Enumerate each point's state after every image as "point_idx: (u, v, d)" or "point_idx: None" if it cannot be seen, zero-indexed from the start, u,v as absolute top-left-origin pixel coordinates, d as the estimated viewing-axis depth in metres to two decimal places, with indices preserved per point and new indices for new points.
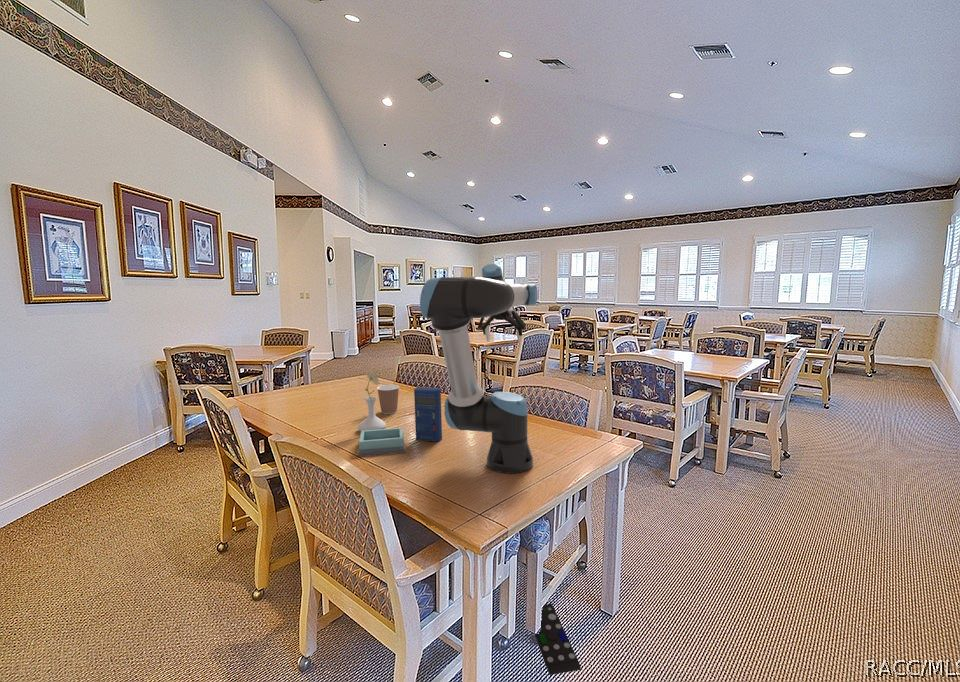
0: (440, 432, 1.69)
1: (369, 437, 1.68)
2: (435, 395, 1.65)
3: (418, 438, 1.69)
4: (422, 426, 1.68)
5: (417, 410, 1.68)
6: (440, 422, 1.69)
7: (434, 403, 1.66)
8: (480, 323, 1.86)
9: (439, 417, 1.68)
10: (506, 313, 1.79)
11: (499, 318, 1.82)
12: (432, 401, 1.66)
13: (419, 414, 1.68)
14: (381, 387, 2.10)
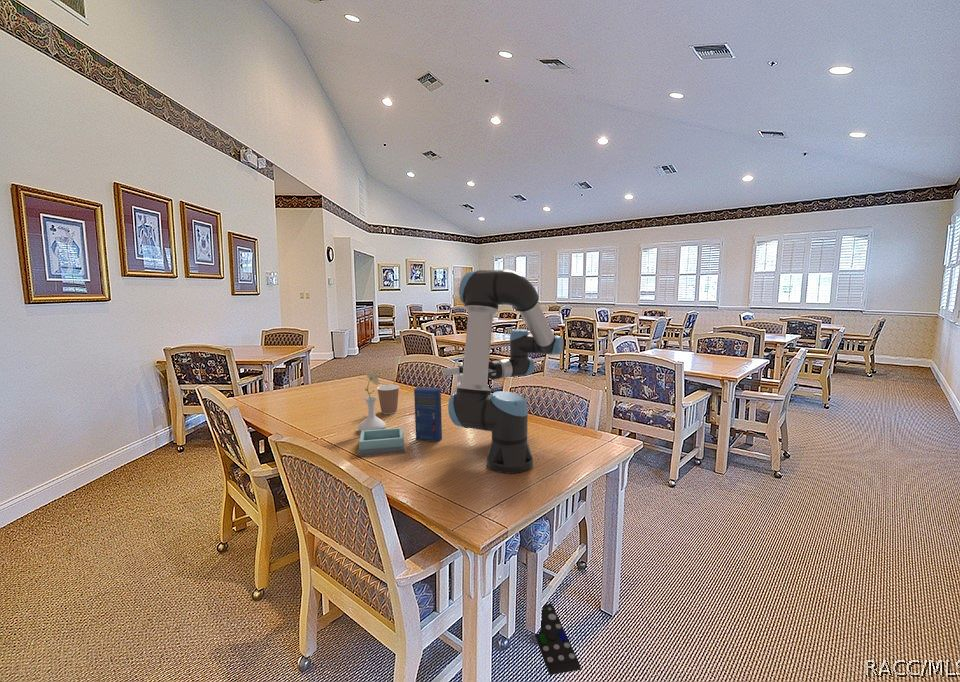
0: (440, 432, 1.69)
1: (369, 437, 1.68)
2: (435, 395, 1.65)
3: (418, 438, 1.69)
4: (422, 426, 1.68)
5: (417, 410, 1.68)
6: (440, 422, 1.69)
7: (434, 403, 1.66)
8: None
9: (439, 417, 1.68)
10: (489, 369, 1.76)
11: None
12: (432, 401, 1.66)
13: (419, 414, 1.68)
14: (381, 387, 2.10)
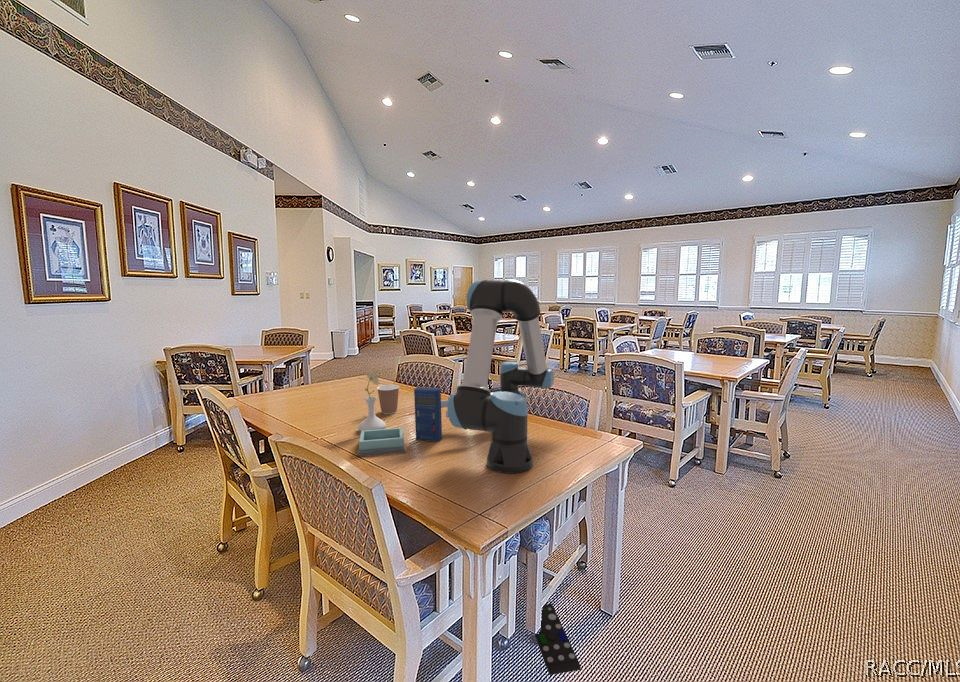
0: (440, 432, 1.69)
1: (369, 437, 1.68)
2: (435, 395, 1.65)
3: (418, 438, 1.69)
4: (422, 426, 1.68)
5: (417, 410, 1.68)
6: (440, 422, 1.69)
7: (434, 403, 1.66)
8: None
9: (439, 417, 1.68)
10: None
11: None
12: (432, 401, 1.66)
13: (419, 414, 1.68)
14: (381, 387, 2.10)
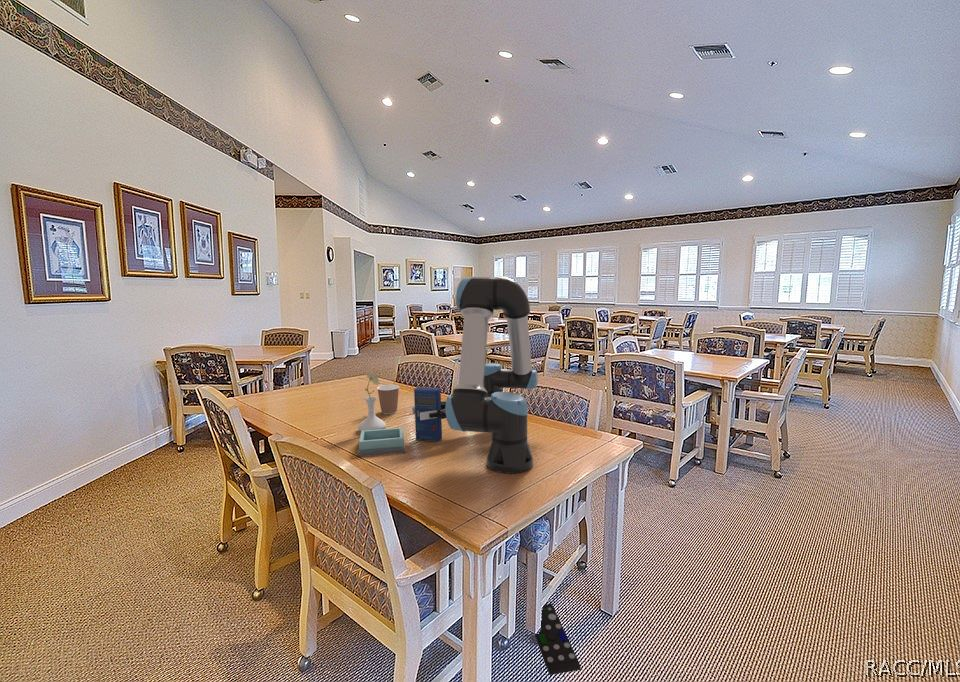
0: (440, 432, 1.69)
1: (369, 437, 1.68)
2: (435, 395, 1.65)
3: (418, 438, 1.69)
4: (422, 426, 1.68)
5: (417, 410, 1.68)
6: (440, 422, 1.69)
7: (434, 403, 1.66)
8: None
9: None
10: None
11: None
12: (432, 401, 1.66)
13: (419, 414, 1.68)
14: (381, 387, 2.10)
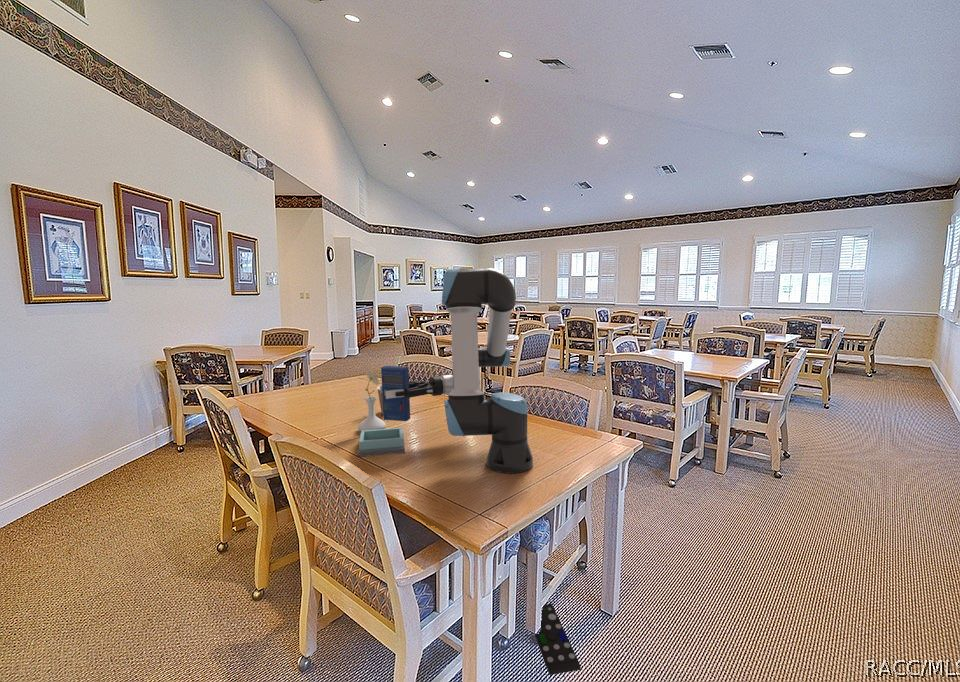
0: (408, 412, 1.66)
1: (369, 437, 1.68)
2: (402, 373, 1.61)
3: (385, 418, 1.66)
4: (390, 406, 1.65)
5: (384, 389, 1.64)
6: (407, 401, 1.65)
7: (401, 382, 1.62)
8: None
9: None
10: (429, 386, 1.68)
11: (420, 385, 1.69)
12: (399, 379, 1.62)
13: None
14: None
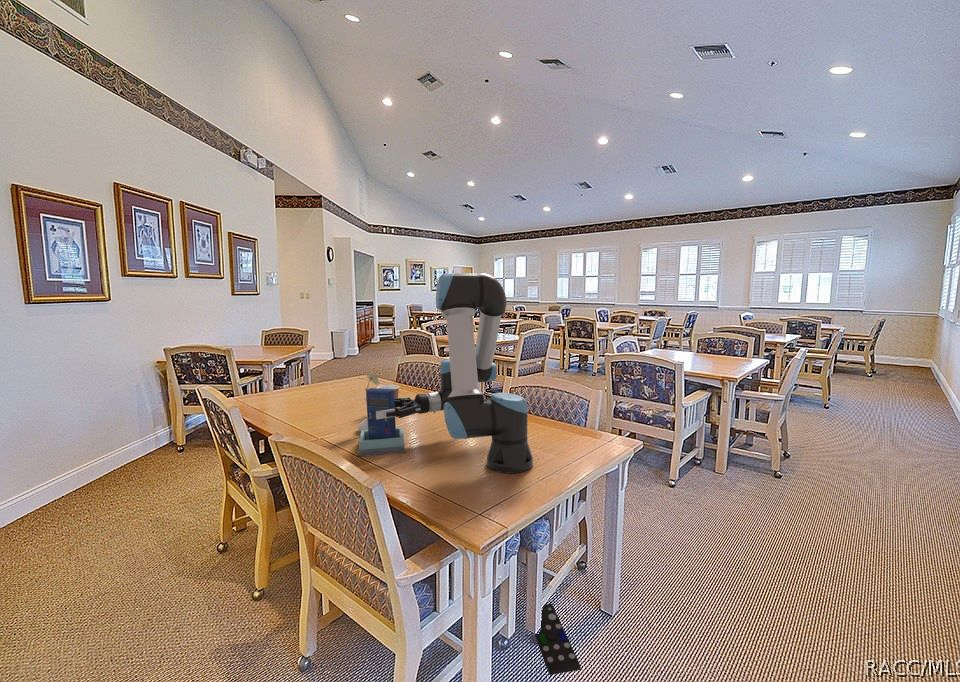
0: (394, 435, 1.63)
1: None
2: (387, 396, 1.58)
3: None
4: (375, 429, 1.61)
5: (369, 412, 1.61)
6: (393, 424, 1.62)
7: (387, 405, 1.59)
8: None
9: (392, 419, 1.61)
10: (415, 404, 1.65)
11: (405, 403, 1.67)
12: (385, 402, 1.59)
13: (371, 416, 1.61)
14: (381, 387, 2.10)
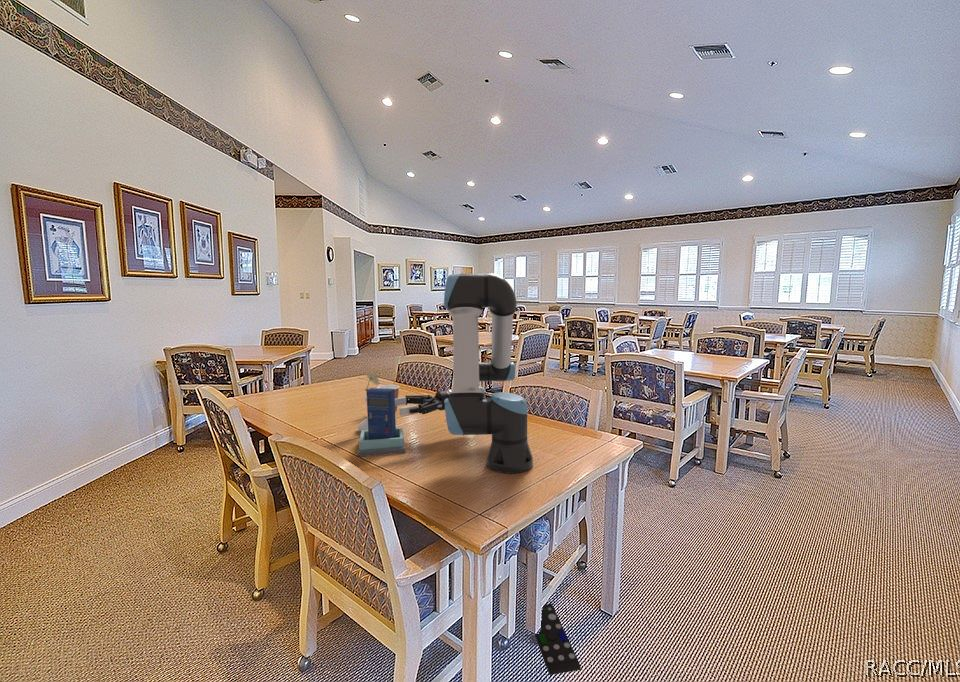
0: (394, 435, 1.63)
1: None
2: (388, 396, 1.59)
3: None
4: (375, 429, 1.61)
5: (369, 412, 1.61)
6: (393, 424, 1.62)
7: (387, 404, 1.60)
8: (412, 395, 1.77)
9: (392, 419, 1.61)
10: (436, 401, 1.69)
11: (426, 400, 1.71)
12: (385, 402, 1.60)
13: (372, 416, 1.61)
14: (381, 387, 2.10)
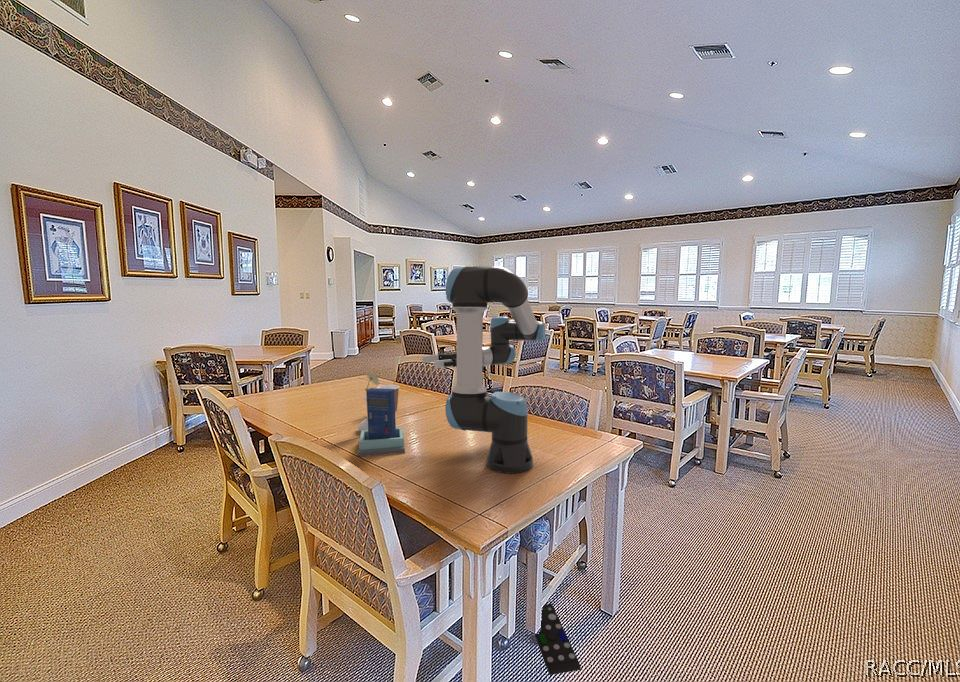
0: (394, 435, 1.63)
1: None
2: (387, 396, 1.59)
3: None
4: (375, 429, 1.61)
5: (369, 412, 1.61)
6: (393, 424, 1.62)
7: (387, 405, 1.59)
8: (444, 353, 1.80)
9: (392, 419, 1.61)
10: None
11: None
12: (385, 402, 1.60)
13: (371, 416, 1.61)
14: (381, 387, 2.10)
